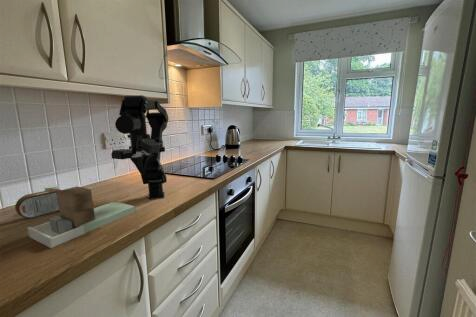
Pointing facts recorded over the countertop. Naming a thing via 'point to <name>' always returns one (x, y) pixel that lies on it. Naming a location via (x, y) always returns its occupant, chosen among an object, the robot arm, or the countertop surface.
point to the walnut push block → (76, 205)
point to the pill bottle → (51, 187)
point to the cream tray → (53, 234)
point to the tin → (38, 204)
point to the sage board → (108, 214)
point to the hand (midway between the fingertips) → (142, 174)
